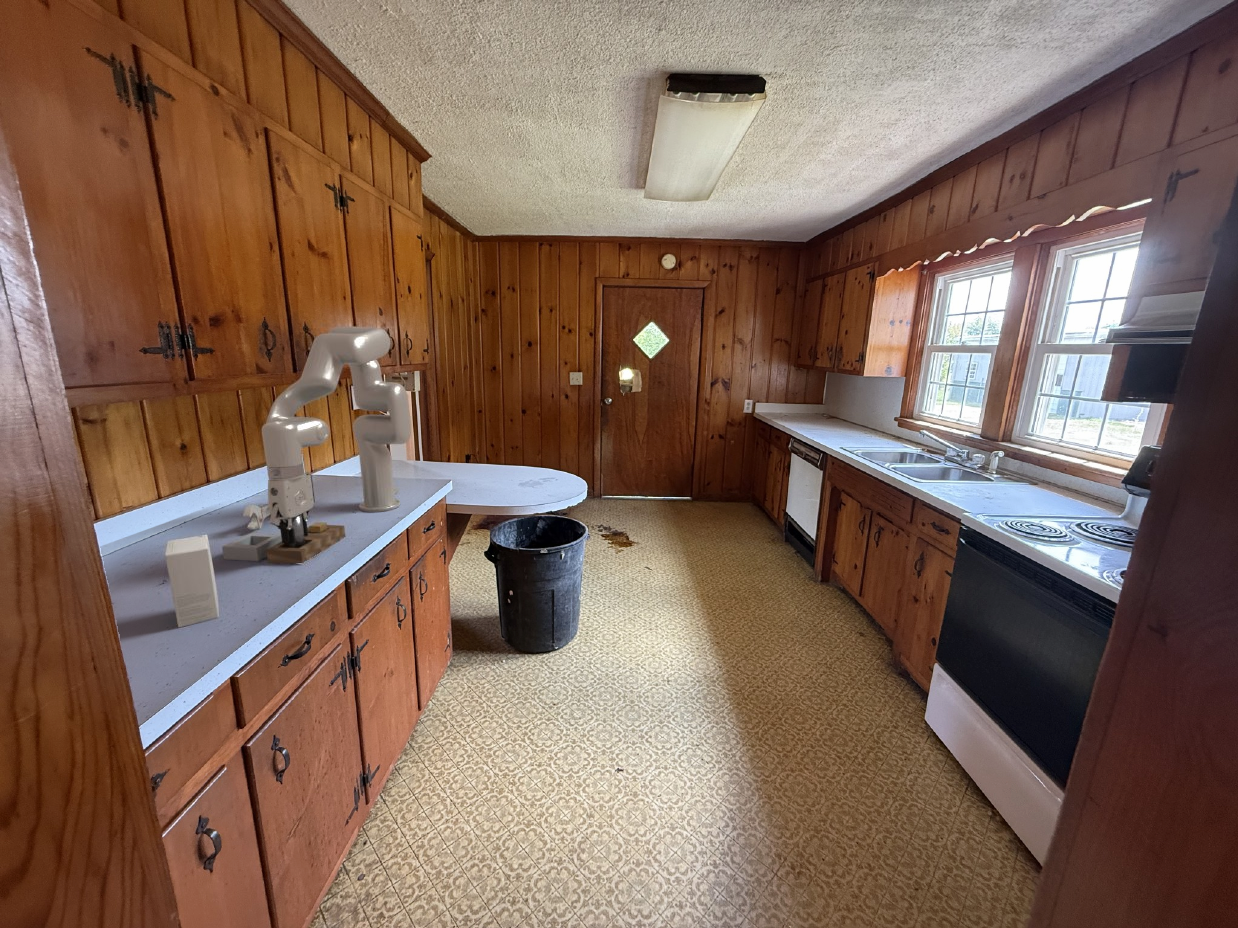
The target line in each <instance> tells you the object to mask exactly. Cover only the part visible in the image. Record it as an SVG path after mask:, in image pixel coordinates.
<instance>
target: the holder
mask: <svg viewBox="0 0 1238 928" xmlns="http://www.w3.org/2000/svg"><path fill="white" fill-rule="evenodd" d="M281 541H282V538H281V534H276V533H275V534H272V533H270V534H269V533H255V532H253V533H252V532H250V533H248V534H246V535H243V536H241V537H239V538H237V539H234V540H233V541H230V542H229V543H226V544H224V545H223V546H221V547H222V553H223V559H224V560H231V561H232V560H233V561H235V560H236V561H250V562H251V561H253V562H259V561H261V560H262V559H264V558H266V557H267V551H266V549H268V548H270V547H272V546H274V545H276V544H278V543H280V542H281Z"/></svg>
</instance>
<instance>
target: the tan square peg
mask: <svg viewBox="0 0 1238 928" xmlns="http://www.w3.org/2000/svg"><path fill="white" fill-rule="evenodd" d="M327 525H328V523H327V522H322V521H321V522H319V521H317V522H314V523H312V524H310V525H309V526H308V527H309V529H310V533H320V534H321V533H323V532H325V531H326V530H328V529H327Z"/></svg>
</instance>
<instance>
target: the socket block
mask: <svg viewBox="0 0 1238 928" xmlns="http://www.w3.org/2000/svg"><path fill="white" fill-rule="evenodd" d="M307 529H308V536H306V537H305V544H306V545H304V546H302V547H300V548H287V543H282V541H281V542H280V543H278V544H276V545H274V546H272V547H270V548H268V549H266V551H267V556H266V557H267V563H271V564H272V563H273V564H289V563H304V562H305V561H307V560H309V559H310V558H312V557H313V558H315V557H316V556H318V555H319V553H320V552H321V553H323V552H325V551H326V550H327V549H329V548H330V546H331V547H332V546H333V545H335V544H336V543H338V542H340V541H341V539H342V540H343V539H345V538H346V531H345V530H346V528H345V525H336V524H327V529H328V530H326V531H325V532H323V533H321V534H320V533H310V529H309V526H307ZM344 537H345V538H344ZM325 549H326V550H325ZM322 551H323V552H322ZM321 553H320V554H321ZM317 554H318V555H317ZM315 555H316V556H315ZM314 556H315V557H314ZM313 558H312V559H313ZM310 560H311V559H310ZM310 560H309V561H310ZM307 562H308V561H307ZM305 563H306V562H305ZM305 563H304V564H305Z"/></svg>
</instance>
